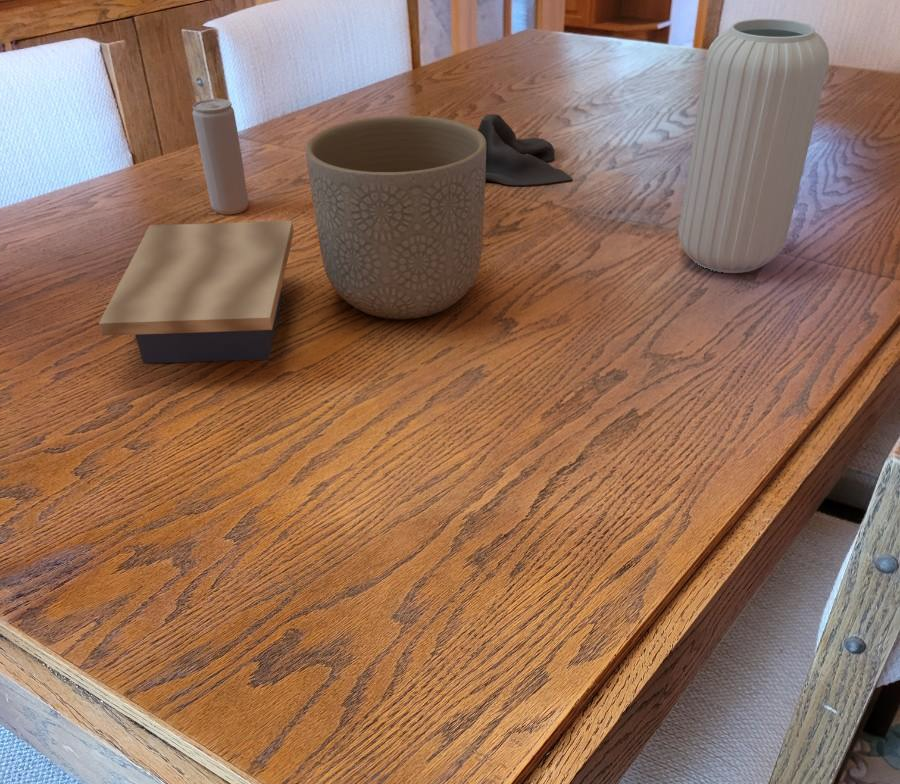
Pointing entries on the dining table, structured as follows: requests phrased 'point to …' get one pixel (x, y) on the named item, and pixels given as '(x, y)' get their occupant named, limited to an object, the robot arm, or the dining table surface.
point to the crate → (207, 345)
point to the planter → (399, 211)
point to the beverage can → (221, 155)
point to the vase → (751, 142)
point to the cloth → (517, 156)
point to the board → (202, 279)
